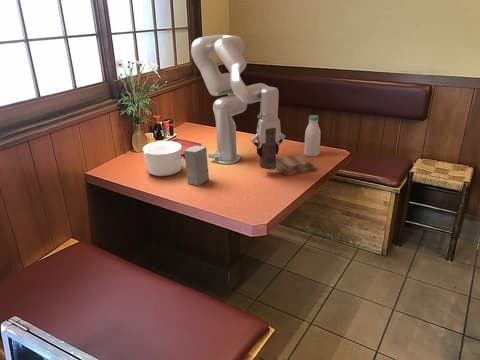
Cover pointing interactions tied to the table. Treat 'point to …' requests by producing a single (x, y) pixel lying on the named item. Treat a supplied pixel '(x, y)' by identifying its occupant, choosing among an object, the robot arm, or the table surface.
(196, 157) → the skincare box
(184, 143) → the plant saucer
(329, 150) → the table surface
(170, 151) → the pot
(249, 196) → the table surface
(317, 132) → the milk bottle
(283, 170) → the plinth
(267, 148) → the dark brown rough cylinder
